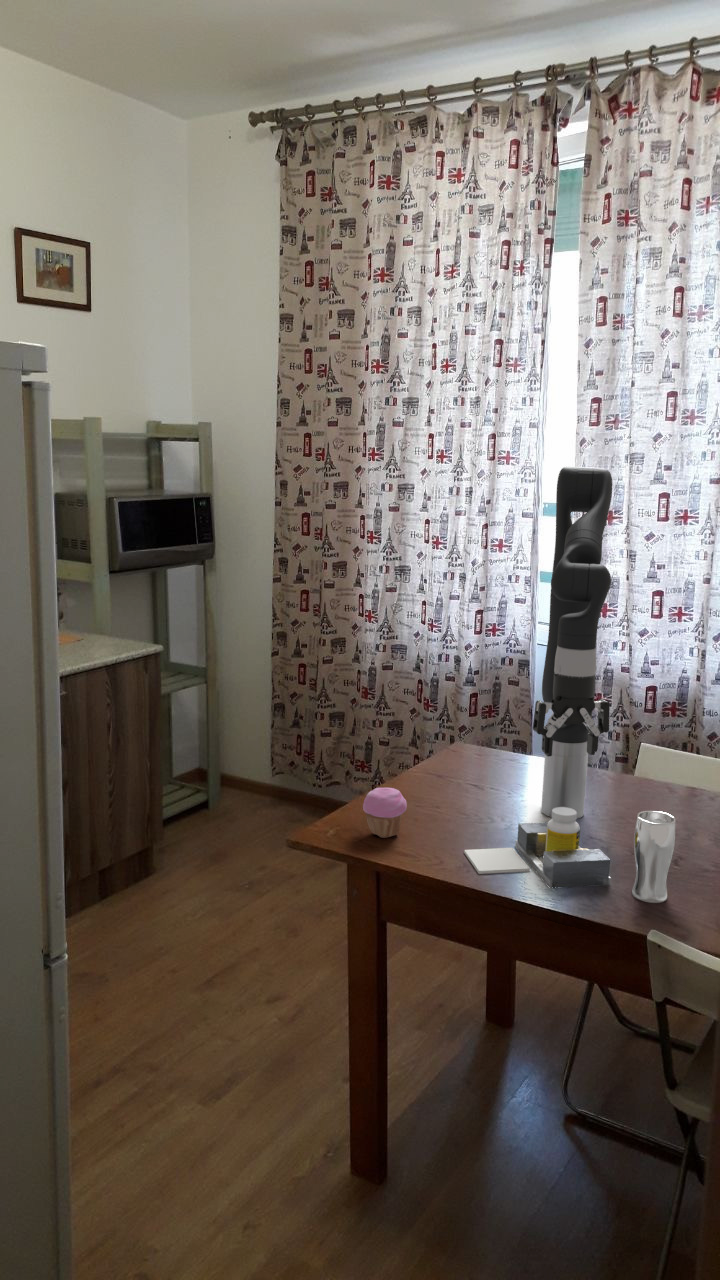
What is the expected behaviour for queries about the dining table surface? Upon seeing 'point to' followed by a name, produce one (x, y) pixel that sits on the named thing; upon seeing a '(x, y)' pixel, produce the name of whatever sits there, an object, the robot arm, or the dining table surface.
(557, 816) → the pill bottle
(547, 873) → the bench vise
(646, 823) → the beer glass
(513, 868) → the placing pad
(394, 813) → the cupcake
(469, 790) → the dining table surface
